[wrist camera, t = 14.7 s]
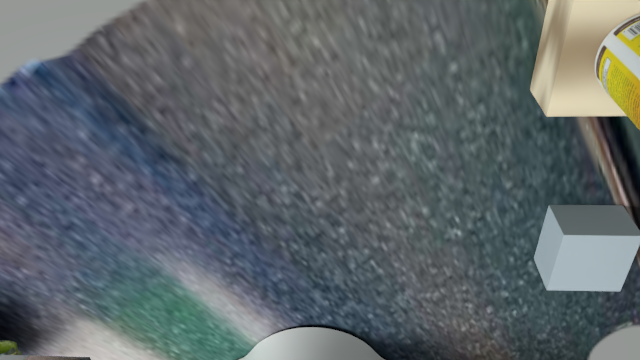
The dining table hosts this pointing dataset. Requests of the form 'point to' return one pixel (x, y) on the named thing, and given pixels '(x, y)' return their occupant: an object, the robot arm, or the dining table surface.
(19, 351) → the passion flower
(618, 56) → the supplement bottle
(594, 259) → the greyblue block
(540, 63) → the beech block
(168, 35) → the dining table surface
